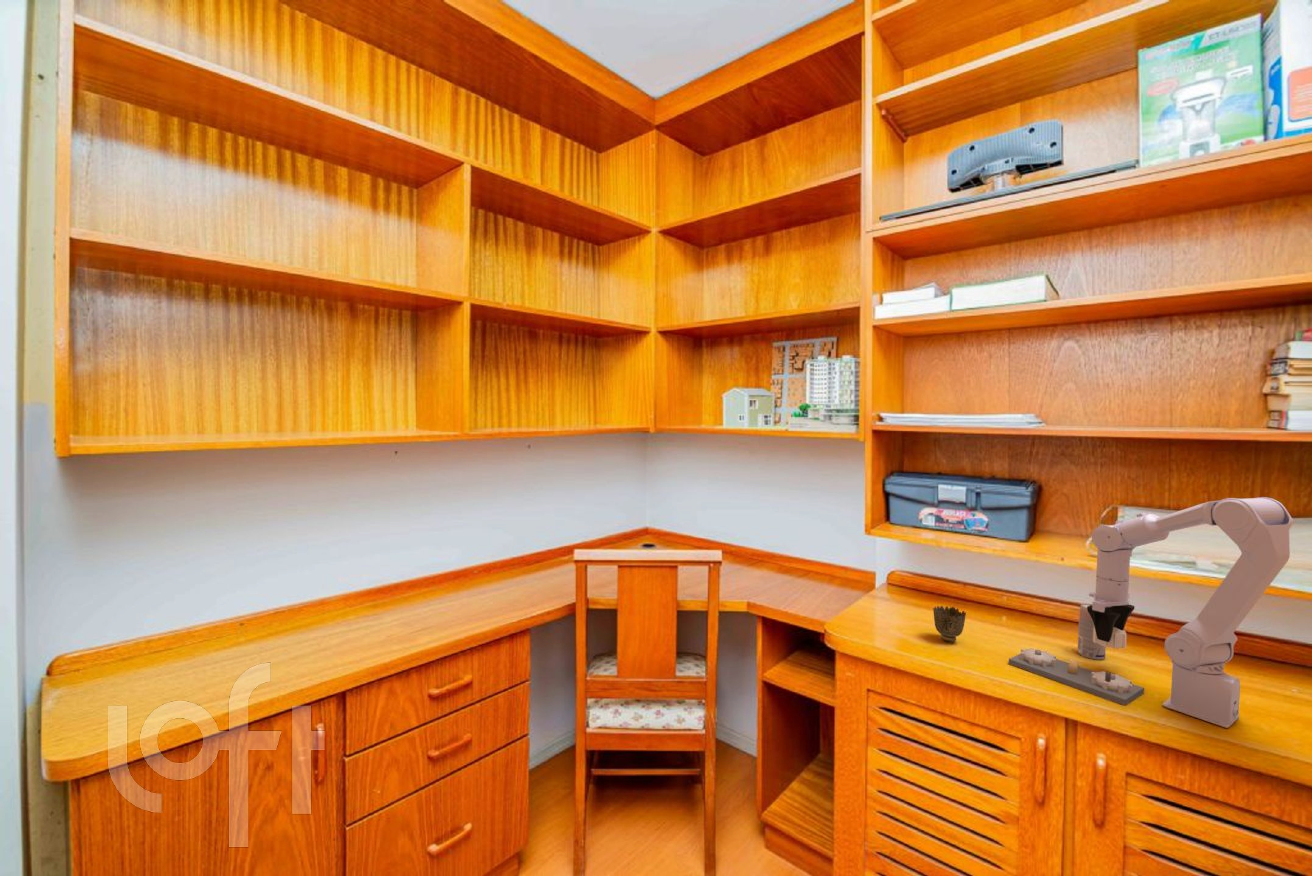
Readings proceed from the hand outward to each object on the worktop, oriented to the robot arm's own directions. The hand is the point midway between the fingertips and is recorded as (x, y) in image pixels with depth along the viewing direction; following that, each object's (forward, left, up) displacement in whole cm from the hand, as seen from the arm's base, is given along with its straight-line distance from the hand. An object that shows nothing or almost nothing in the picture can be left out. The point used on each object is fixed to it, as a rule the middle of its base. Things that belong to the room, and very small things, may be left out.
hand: (1109, 637), depth 127 cm
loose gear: (0, 0, -1) cm, 1 cm away
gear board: (+3, +10, -8) cm, 13 cm away
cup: (+29, +14, -8) cm, 33 cm away
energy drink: (+6, -8, -8) cm, 13 cm away
